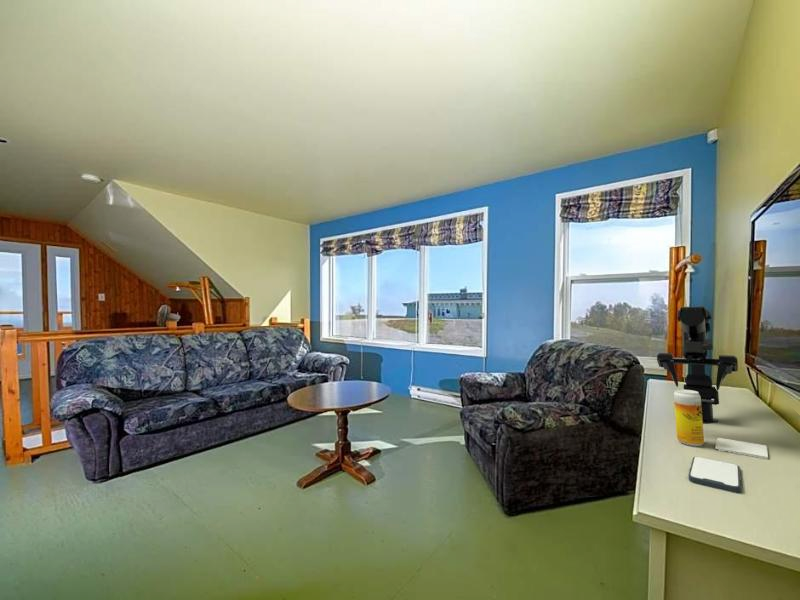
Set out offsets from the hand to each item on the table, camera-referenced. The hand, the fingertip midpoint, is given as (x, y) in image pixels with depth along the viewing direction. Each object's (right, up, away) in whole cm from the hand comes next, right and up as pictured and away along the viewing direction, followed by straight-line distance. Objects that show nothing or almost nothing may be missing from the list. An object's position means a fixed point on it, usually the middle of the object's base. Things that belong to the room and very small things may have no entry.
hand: (696, 388), depth 103 cm
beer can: (-4, -16, -3) cm, 16 cm away
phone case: (-14, -16, -22) cm, 30 cm away
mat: (+6, -15, -8) cm, 18 cm away
